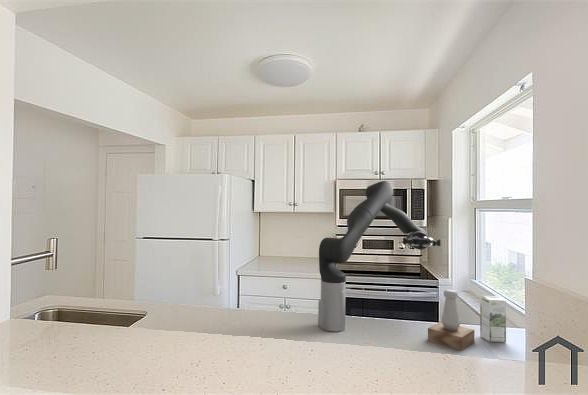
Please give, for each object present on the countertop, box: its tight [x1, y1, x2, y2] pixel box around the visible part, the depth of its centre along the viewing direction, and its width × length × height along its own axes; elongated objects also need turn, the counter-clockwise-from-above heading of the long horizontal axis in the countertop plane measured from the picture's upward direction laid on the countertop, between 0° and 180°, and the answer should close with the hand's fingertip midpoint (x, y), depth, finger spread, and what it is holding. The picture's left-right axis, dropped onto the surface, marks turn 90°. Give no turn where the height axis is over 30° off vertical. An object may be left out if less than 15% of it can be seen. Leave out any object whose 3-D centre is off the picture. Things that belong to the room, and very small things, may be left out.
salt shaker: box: [440, 288, 461, 331], centre depth 109 cm, size 6×6×13 cm
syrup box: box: [479, 295, 507, 343], centre depth 111 cm, size 6×6×14 cm
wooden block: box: [427, 321, 475, 351], centre depth 109 cm, size 11×11×4 cm
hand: (422, 242), depth 124 cm, fingers open, 8 cm apart
